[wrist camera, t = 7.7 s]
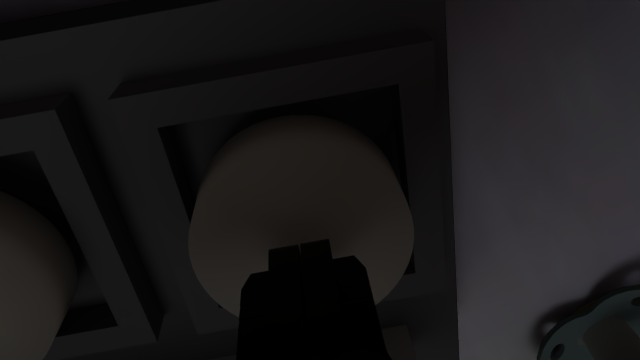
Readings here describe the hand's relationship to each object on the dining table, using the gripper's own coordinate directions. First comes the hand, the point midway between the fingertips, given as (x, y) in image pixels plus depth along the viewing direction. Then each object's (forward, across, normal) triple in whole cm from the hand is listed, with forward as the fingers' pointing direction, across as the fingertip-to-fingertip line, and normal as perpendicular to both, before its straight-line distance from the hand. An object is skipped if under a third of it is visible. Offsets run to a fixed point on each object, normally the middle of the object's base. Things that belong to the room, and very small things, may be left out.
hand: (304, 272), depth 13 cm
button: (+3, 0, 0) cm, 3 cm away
